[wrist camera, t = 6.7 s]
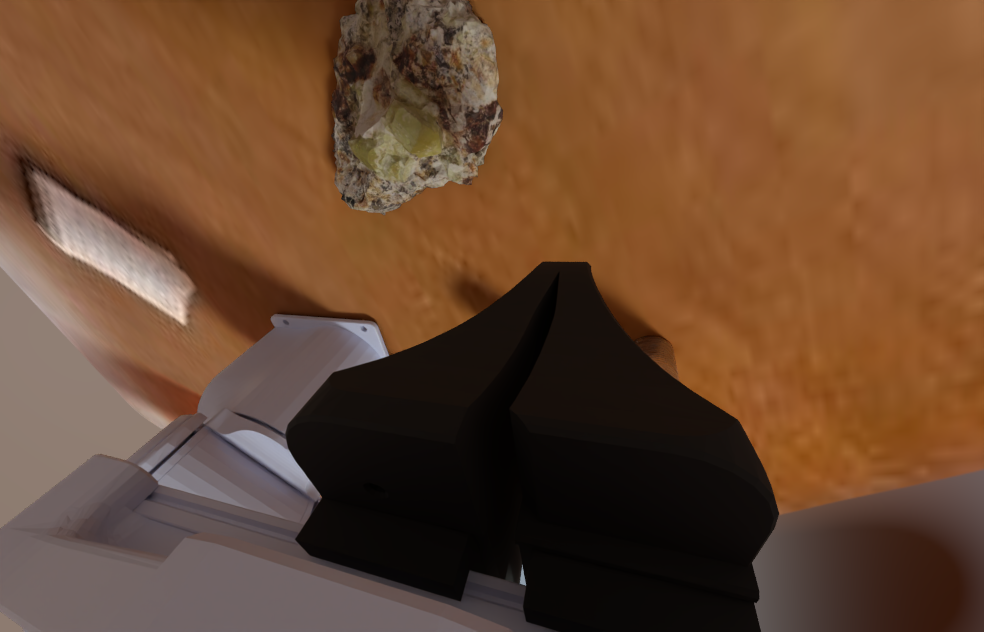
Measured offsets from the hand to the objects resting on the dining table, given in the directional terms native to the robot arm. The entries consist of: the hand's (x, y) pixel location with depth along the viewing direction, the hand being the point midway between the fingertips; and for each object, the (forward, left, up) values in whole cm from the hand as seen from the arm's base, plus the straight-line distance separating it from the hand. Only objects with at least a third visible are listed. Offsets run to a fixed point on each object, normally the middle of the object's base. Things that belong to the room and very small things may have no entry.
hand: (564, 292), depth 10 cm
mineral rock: (-8, +4, -9) cm, 13 cm away
